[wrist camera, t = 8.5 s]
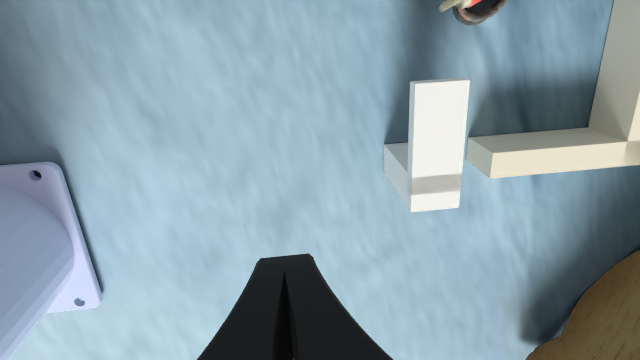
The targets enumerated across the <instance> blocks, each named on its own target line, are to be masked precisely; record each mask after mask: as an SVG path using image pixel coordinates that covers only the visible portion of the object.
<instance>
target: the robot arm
mask: <svg viewBox="0 0 640 360" xmlns="http://www.w3.org/2000/svg"><path fill="white" fill-rule="evenodd" d="M34 170H36V171H38V172H40V174H41V178H38V177H37V176H35V174H34ZM78 298H81V299H83V300H84V301H80V300H79V299H78ZM102 299H103V298H102V293H101V290H100V287H99V284H98V281H97V278H96V274H95V271H94V268H93V265H92V262H91V259H90V256H89V253H88V250H87V246H86V243H85V240H84V237H83V234H82V231H81V228H80V225H79V222H78V219H77V215H76V212H75V209H74V206H73V203H72V200H71V197H70V194H69V191H68V187H67V184H66V181H65V178H64V175H63V172H62V170H61V168H60V167H59V166H58V165H57V164H55V163H53V162H37V163H24V164H12V165H0V360H9V359H10V358H11V356H12V355H13V354H14V353H15V351H16V350H17V349H18V347H19V346H20V345H21V344H22V342H23V341H24V340H25V338H26V337H27V336H28V335H29V333H30V332H31V331H32V329H33V328H34V327H35V326H36V324H37V323H38V322H39V320H40V319H41V318H42V317H43V315H44V314H45V313H54V312H63V311H72V310H82V309H91V308H96V307H97V306H99V304H100V303H101V301H102ZM293 359H294V360H393V359H392V358H391V357H390V356H389V355H388V354H387V353H386V352H384V351H383V350H382V349H381V348H380V347H379V346H378V345H377V344H376V343H375V342H374V341H373V340H372V339H371V338H370V337H369V336H368V334H367V333H366V332H365V331H364V330H363V329H362V328H361V327H360V326H359V325H358V323H357V322H356V321H355V320H354V319H353V318H352V316H351V315H350V314H349V313H348V312H347V310H346V309H345V308H344V306H343V305H342V304H341V303H340V301H339V300H338V298H337V297H336V296H335V294H334V293H333V292H332V290H331V289H330V287H329V286H328V284H327V283H326V281H325V280H324V278H323V276H322V275H321V273H320V271H319V269H318V267H317V266H316V263H315V261H314V258H313V257H312V256H311V255H310V254H300V255H290V256H280V257H270V258H261V259H260V260H259V261H258V262H257V263H256V266H255V268H254V271H253V273H252V275H251V277H250V279H249V281H248V283H247V285H246V287H245V288H244V290H243V292H242V294H241V296H240V297H239V299H238V301H237V302H236V304H235V306H234V307H233V309H232V311H231V312H230V314H229V316H228V317H227V319H226V320H225V322H224V323H223V324H222V326H221V327H220V329H219V330H218V332H217V333H216V335H215V336H214V338H213V339H212V340H211V342H210V343H209V345H208V346H207V347H206V349H205V350H204V351H203V352H202V354H201V355H200V356H199V358H198V359H197V360H293Z"/></svg>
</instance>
